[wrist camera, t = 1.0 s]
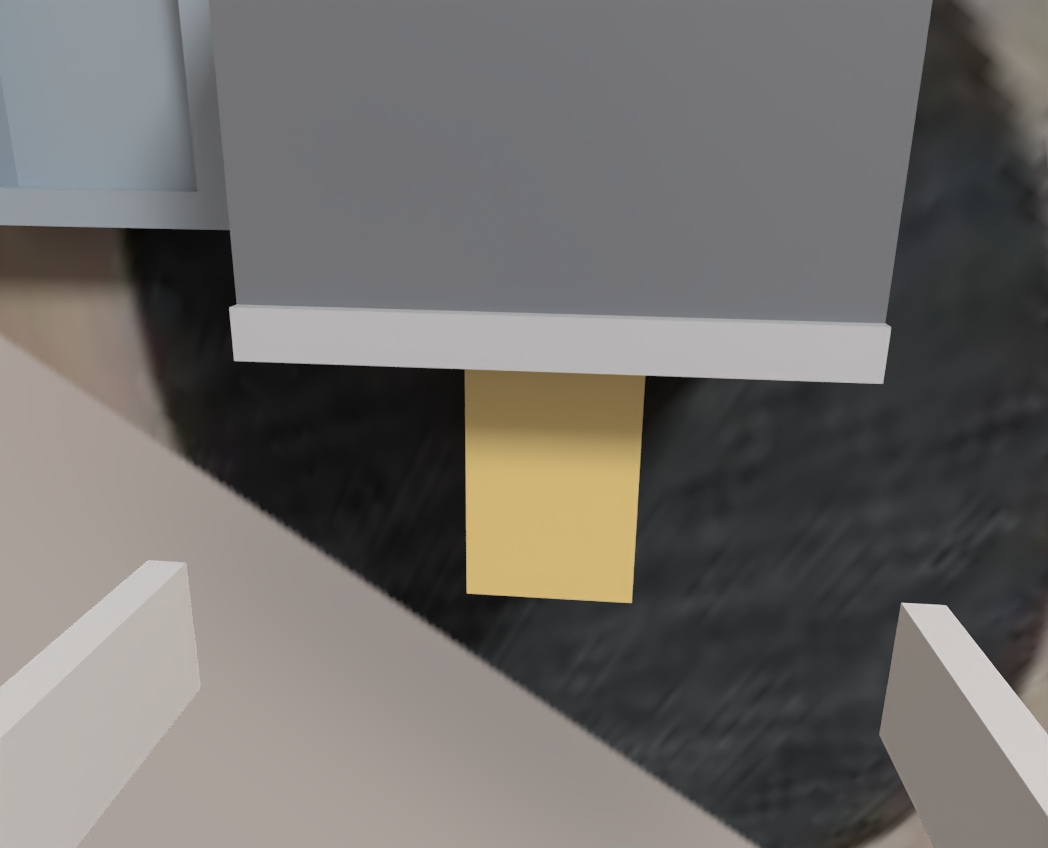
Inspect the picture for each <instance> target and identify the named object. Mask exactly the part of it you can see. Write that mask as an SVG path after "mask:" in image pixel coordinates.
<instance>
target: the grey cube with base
mask: <svg viewBox="0 0 1048 848" xmlns="http://www.w3.org/2000/svg"><path fill="white" fill-rule="evenodd" d="M209 7H210V18H211V29H212V40H213V51H214V62H215V73H216V84H217V95H218V106H219V117H220V128H221V139H222V150H223V160H224V171H225V182H226V193H227V204H228V215H229V226H230V237H231V248H232V259H233V270H234V281H235V292H236V303H237V304H236V305H234V306H231V307H229V313H230V323H231V334H232V344H233V355H234V361H245V362H274V363H302V364H331V365H359V366H388V367H417V368H445V369H474V370H502V371H531V372H559V373H588V374H616V375H645V376H673V377H702V378H730V379H759V380H787V381H816V382H844V383H873V384H883V380H884V373H885V367H886V360H887V353H888V347H889V340H890V333H891V327H890V326H889V325H887V324H885V321H886V314H887V307H888V300H889V293H890V287H891V280H892V273H893V266H894V259H895V253H896V246H897V239H898V232H899V225H900V218H901V212H902V205H903V198H904V191H905V184H906V177H907V171H908V164H909V157H910V150H911V143H912V137H913V130H914V123H915V116H916V109H917V102H918V96H919V89H920V82H921V75H922V68H923V62H924V55H925V48H926V41H927V34H928V27H929V21H930V14H931V7H932V0H209Z"/></svg>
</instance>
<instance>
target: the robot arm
mask: <svg viewBox="0 0 1048 848" xmlns="http://www.w3.org/2000/svg"><path fill="white" fill-rule="evenodd" d="M200 688H201V684H200V675H199V667H198V658H197V649H196V641H195V632H194V623H193V615H192V606H191V597H190V589H189V580H188V572H187V563H186V562H169V561H152V560H148V561H147V562H145V563H144V564H143V565H142V566H141V567H139V568H138V569H137V570H136V571H135V572H134V573H132V574H131V575H130V576H129V577H128V578H127V579H125V580H124V581H123V582H122V583H121V584H120V585H118V586H117V587H116V588H115V589H114V590H113V591H112V592H110V593H109V594H108V595H107V596H106V597H105V598H103V599H102V600H101V601H100V602H99V603H97V604H96V605H95V606H94V607H93V608H92V609H90V610H89V611H88V612H87V613H86V614H85V615H84V616H82V617H81V618H80V619H79V620H78V621H77V622H75V623H74V624H73V625H72V626H71V627H70V628H68V629H67V630H66V631H65V632H64V633H63V634H61V635H60V636H59V637H58V638H57V639H56V640H54V641H53V642H52V643H51V644H50V645H49V646H48V647H46V648H45V649H44V650H43V651H42V652H41V653H39V654H38V655H37V656H36V657H35V658H33V659H32V660H31V661H30V662H29V663H28V664H27V665H25V666H24V667H23V668H22V669H21V670H20V671H18V672H17V673H16V674H15V675H14V676H13V677H11V678H10V679H9V680H8V681H7V682H6V683H4V684H3V685H2V686H1V687H0V848H77V847H78V846H79V844H80V843H81V842H82V841H83V839H84V838H85V837H86V835H87V834H88V833H89V831H90V830H91V829H92V828H93V826H94V825H95V824H96V822H97V821H98V820H99V818H100V817H101V816H102V815H103V813H104V812H105V811H106V810H107V808H108V807H109V805H110V804H111V803H112V802H113V800H114V799H115V798H116V796H117V795H118V794H119V793H120V792H121V790H122V789H123V788H124V786H125V785H126V784H127V782H128V781H129V780H130V778H131V777H132V776H133V775H134V773H135V772H136V771H137V770H138V768H139V767H140V766H141V764H142V763H143V762H144V761H145V759H146V758H147V757H148V755H149V754H150V753H151V752H152V750H153V749H154V748H155V746H156V745H157V744H158V743H159V741H160V740H161V739H162V737H163V736H164V735H165V733H166V732H167V731H168V730H169V728H170V727H171V726H172V724H173V723H174V722H175V721H176V719H177V718H178V717H179V715H180V714H181V713H182V711H183V710H184V709H185V708H186V706H187V705H188V704H189V702H190V701H191V700H192V699H193V697H194V696H195V695H196V694H197V692H198V691H199V690H200ZM879 735H880V737H881V739H882V741H883V743H884V745H885V747H886V749H887V751H888V754H889V756H890V758H891V760H892V762H893V764H894V766H895V768H896V770H897V772H898V774H899V776H900V778H901V780H902V782H903V784H904V786H905V788H906V790H907V793H908V795H909V797H910V799H911V801H912V803H913V805H914V807H915V809H916V811H917V813H918V815H919V817H920V819H921V821H922V823H923V825H924V827H925V829H926V831H927V834H928V836H929V838H930V840H931V842H932V844H933V846H934V848H1048V734H1047V733H1046V732H1045V730H1044V729H1043V728H1042V727H1041V725H1040V724H1039V723H1038V722H1037V720H1036V719H1035V718H1034V716H1033V715H1032V714H1031V713H1030V711H1029V710H1028V709H1027V708H1026V706H1025V705H1024V704H1023V702H1022V701H1021V700H1020V699H1019V697H1018V696H1017V695H1016V694H1015V692H1014V691H1013V690H1012V688H1011V687H1010V686H1009V685H1008V683H1007V682H1006V681H1005V680H1004V678H1003V677H1002V676H1001V674H1000V673H999V672H998V671H997V669H996V668H995V667H994V666H993V664H992V663H991V662H990V660H989V659H988V658H987V657H986V655H985V654H984V653H983V652H982V650H981V649H980V648H979V646H978V645H977V644H976V643H975V641H974V640H973V639H972V638H971V636H970V635H969V634H968V632H967V631H966V630H965V629H964V627H963V626H962V625H961V624H960V622H959V621H958V620H957V618H956V617H955V616H954V615H953V613H952V612H951V611H950V610H949V608H948V607H947V606H946V605H931V604H913V603H901V607H900V613H899V619H898V625H897V631H896V637H895V643H894V649H893V656H892V662H891V668H890V674H889V680H888V686H887V692H886V698H885V704H884V710H883V716H882V722H881V728H880V734H879Z"/></svg>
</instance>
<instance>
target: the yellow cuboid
mask: <svg viewBox="0 0 1048 848" xmlns="http://www.w3.org/2000/svg"><path fill="white" fill-rule="evenodd" d="M644 389H645V375H616V374H588V373H559V372H531V371H502V370H474V369H465V458H466V578H467V594H483V595H500V596H517V597H535V598H552V599H570V600H587V601H604V602H622V603H632V591H633V574H634V558H635V541H636V524H637V507H638V490H639V474H640V457H641V440H642V423H643V406H644Z"/></svg>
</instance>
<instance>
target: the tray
mask: <svg viewBox="0 0 1048 848" xmlns="http://www.w3.org/2000/svg"><path fill="white" fill-rule="evenodd" d="M0 225H15V226H61V227H107V228H153V229H199V230H230V226H229V215H228V204H227V193H226V182H225V171H224V160H223V150H222V139H221V128H220V117H219V106H218V95H217V84H216V73H215V62H214V51H213V40H212V29H211V18H210V7H209V0H0Z"/></svg>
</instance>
